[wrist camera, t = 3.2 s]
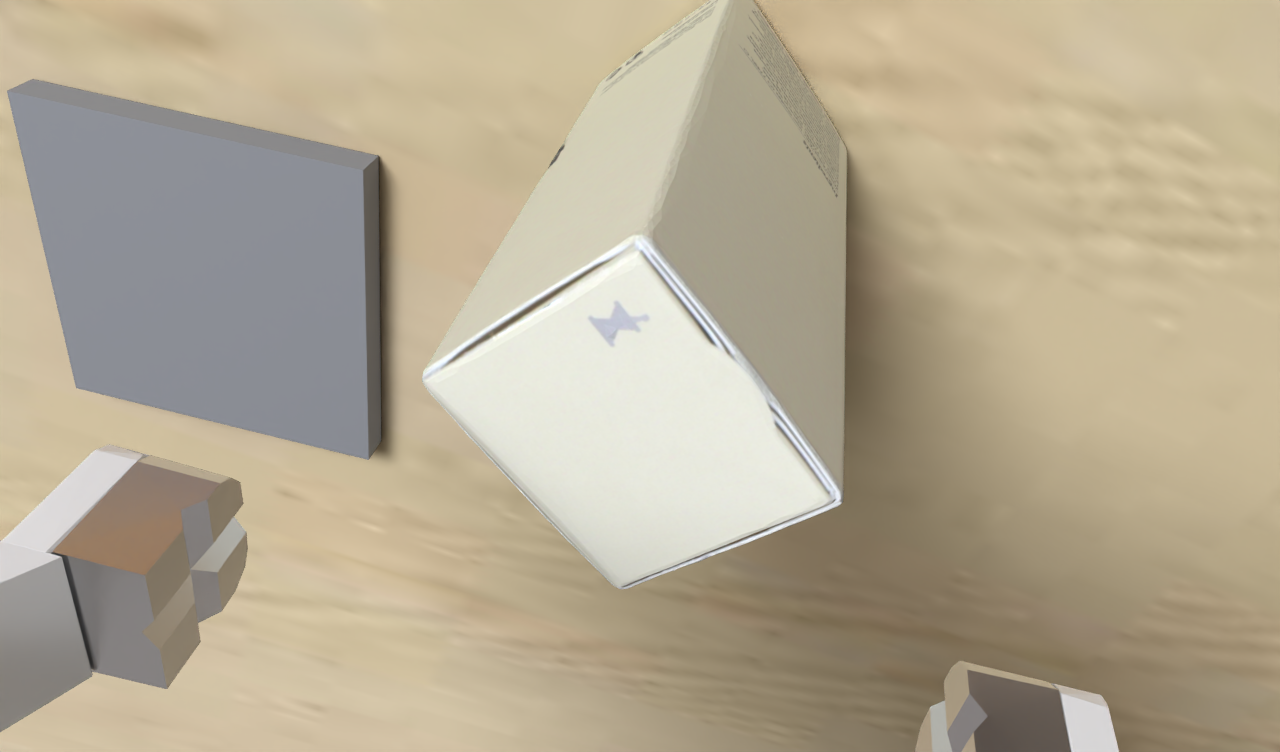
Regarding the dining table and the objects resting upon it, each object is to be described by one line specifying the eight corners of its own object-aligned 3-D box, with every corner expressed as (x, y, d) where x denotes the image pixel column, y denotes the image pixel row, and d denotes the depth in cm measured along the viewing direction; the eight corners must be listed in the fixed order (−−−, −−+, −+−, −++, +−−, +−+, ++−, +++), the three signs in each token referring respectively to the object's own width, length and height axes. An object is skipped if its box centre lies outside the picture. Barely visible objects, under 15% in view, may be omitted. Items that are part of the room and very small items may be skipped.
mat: (378, 155, 27) (363, 170, 26) (381, 440, 33) (368, 459, 32) (32, 79, 28) (7, 90, 27) (95, 371, 33) (76, 387, 33)
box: (595, 79, 25) (386, 366, 14) (745, -28, 22) (631, 215, 12) (716, 246, 26) (611, 608, 16) (865, 161, 24) (856, 513, 14)
